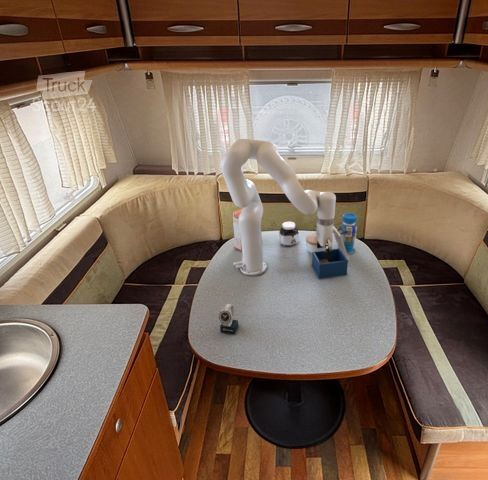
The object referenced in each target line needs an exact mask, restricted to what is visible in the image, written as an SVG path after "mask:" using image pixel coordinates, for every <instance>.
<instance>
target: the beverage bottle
mask: <svg viewBox="0 0 488 480" xmlns="http://www.w3.org/2000/svg"><path fill="white" fill-rule="evenodd" d="M357 218H358V217H357V215H356V214H355V213H353V212H347V213H344V214H343V215H342V223H341V225H340V226H343V227H344V228H345V229H346V231H347V233H346V234H342V235H341V237H342V240H343V243H344V246H345V249H346V252H347V255H351V254H353V253H354V252H355V251H356V241H357V235H358V231H357V230H358V226H357V224H356V223H357ZM341 232H343V231H342V230H339V233H341Z"/></svg>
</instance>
